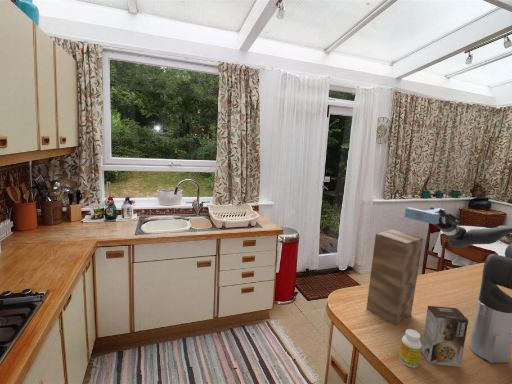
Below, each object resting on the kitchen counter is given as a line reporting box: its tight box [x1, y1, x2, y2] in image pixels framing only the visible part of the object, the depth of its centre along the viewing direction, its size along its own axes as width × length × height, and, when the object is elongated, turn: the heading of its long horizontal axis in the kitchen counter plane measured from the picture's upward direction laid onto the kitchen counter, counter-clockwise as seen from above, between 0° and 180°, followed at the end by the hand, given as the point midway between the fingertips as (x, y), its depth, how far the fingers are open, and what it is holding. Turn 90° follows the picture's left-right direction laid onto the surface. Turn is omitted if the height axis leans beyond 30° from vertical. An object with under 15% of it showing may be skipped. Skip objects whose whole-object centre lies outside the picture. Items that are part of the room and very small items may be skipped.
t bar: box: [404, 206, 447, 225], centre depth 122 cm, size 20×12×4 cm, turn 125°
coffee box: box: [421, 305, 469, 368], centre depth 89 cm, size 9×6×16 cm
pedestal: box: [366, 229, 424, 325], centre depth 112 cm, size 12×12×32 cm
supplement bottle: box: [398, 328, 422, 368], centre depth 88 cm, size 5×5×10 cm
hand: (435, 210), depth 123 cm, fingers closed on t bar, 3 cm apart
